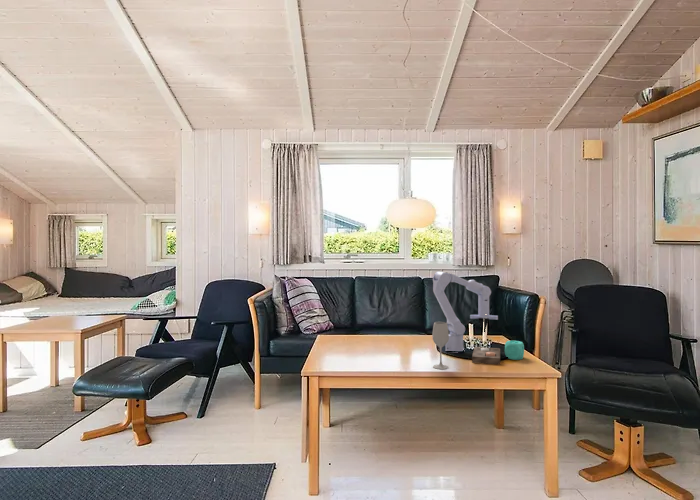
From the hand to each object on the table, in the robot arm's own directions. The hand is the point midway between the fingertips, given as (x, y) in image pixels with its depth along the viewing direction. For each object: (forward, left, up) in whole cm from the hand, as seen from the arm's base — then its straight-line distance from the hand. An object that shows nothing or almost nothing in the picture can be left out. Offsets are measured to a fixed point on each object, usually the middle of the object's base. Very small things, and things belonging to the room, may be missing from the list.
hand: (483, 332), depth 246 cm
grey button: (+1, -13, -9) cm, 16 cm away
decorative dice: (+15, -14, -10) cm, 23 cm away
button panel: (+2, -19, -9) cm, 21 cm away
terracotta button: (+4, -24, -8) cm, 26 cm away
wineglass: (-18, -42, -10) cm, 47 cm away
